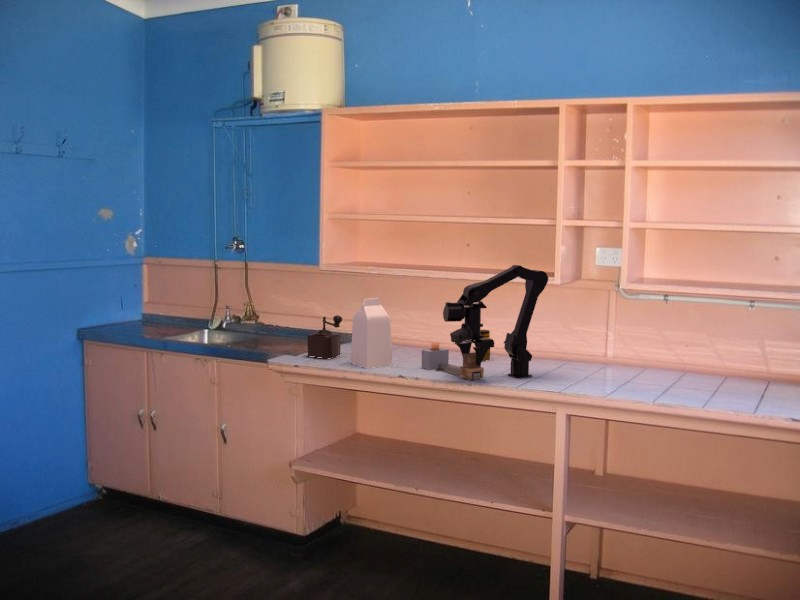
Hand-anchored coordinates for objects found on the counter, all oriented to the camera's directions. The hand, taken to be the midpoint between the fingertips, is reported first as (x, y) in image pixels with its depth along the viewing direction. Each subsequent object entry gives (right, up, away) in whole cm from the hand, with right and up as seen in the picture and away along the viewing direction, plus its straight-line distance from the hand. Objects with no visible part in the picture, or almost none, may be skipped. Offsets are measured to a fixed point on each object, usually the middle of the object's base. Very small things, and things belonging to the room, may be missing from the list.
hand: (471, 364), depth 287 cm
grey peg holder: (-12, -3, +20) cm, 24 cm away
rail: (-4, -4, +7) cm, 10 cm away
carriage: (0, -5, +1) cm, 5 cm away
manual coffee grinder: (-55, -1, +42) cm, 69 cm away
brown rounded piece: (-12, +3, +20) cm, 24 cm away
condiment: (+7, -2, +39) cm, 39 cm away
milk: (-37, -3, +26) cm, 45 cm away
